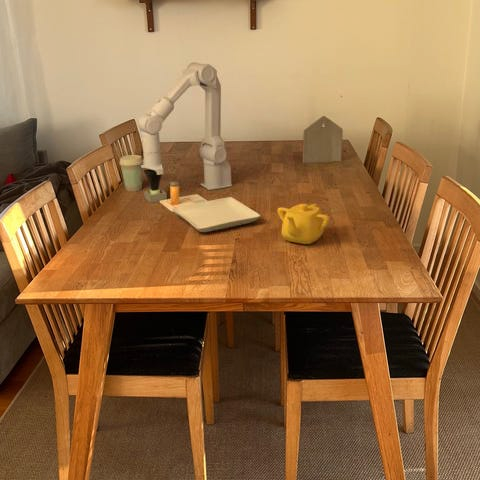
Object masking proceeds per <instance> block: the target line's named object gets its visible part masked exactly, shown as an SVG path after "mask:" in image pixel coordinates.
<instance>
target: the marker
mask: <svg viewBox="0 0 480 480" xmlns="http://www.w3.org/2000/svg"><path fill="white" fill-rule="evenodd" d="M169 189H170V199H171V205H179V204H180V197H181V196H180V181H178V180H171V181H170V182H169Z"/></svg>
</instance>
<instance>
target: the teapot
mask: <svg viewBox="0 0 480 480" xmlns="http://www.w3.org/2000/svg"><path fill="white" fill-rule="evenodd" d="M284 212H285V214H284ZM277 215H278V217H279V218H280V220H281V221H282V225H281V236H282V238H283V240H285V241H287V242H293V243H296V244H302V245H305V244H309V245H311V244H312V243H314V242H316V241H318V240H319V239H320V238H321V237H322V235H323V233H324V231H325V228H326V227H327V226H328V225H329V223H330V220H331V217H330V216H329V215H327V214H322V210H321V209H320V207H318V204H316V203H312V204H310V205H308V204H307V203H299V204H297V205H294V206H292V207H291V208H288V207H278V208H277Z"/></svg>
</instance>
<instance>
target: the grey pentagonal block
mask: <svg viewBox="0 0 480 480" xmlns="http://www.w3.org/2000/svg"><path fill="white" fill-rule="evenodd" d="M343 131H344V130H343V128H342V127H341V126H339V125H338V124H336V123H335V122H334V121H332V120H331V119H330V118H328V117H327V116H326V115H322V116H321V117H319V118H318V119H317V120H315V121H314V122H313V123H312V124H309V126H307V127H306V128H305V129H303V135H302V136H303V137H302V139H303V141H302V142H303V143H302V146H303V147H302V148H303V149H302V163H303V164H311V163H312V164H313V163H315V162H319V163H334V162H333V161H341V162H342V156H343V154H342V153H343V133H344V132H343Z"/></svg>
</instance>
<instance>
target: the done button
mask: <svg viewBox="0 0 480 480" xmlns="http://www.w3.org/2000/svg"><path fill="white" fill-rule="evenodd" d="M160 189H161V188H159V189H158V190H155V191H152V190H151V188H150V189H149V190H150V194H151V195H153V194H159V193H160Z"/></svg>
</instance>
